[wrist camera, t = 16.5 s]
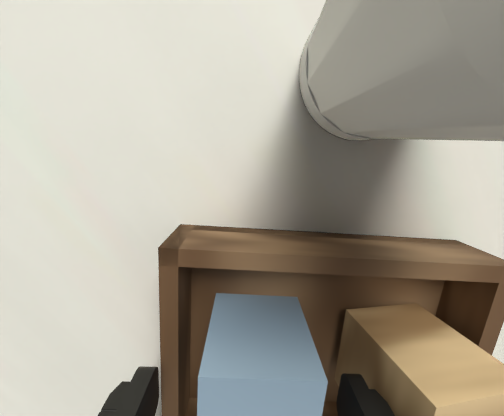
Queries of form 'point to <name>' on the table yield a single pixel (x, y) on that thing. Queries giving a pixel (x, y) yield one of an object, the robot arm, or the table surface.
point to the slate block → (259, 360)
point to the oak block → (419, 363)
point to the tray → (314, 290)
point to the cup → (407, 69)
